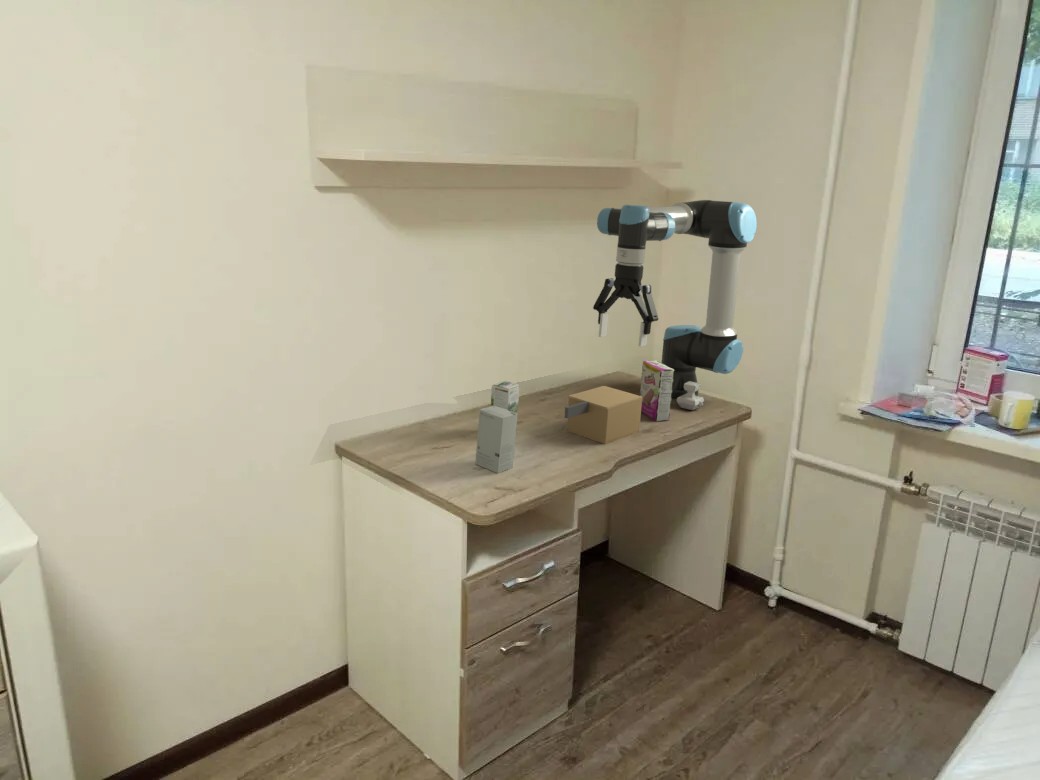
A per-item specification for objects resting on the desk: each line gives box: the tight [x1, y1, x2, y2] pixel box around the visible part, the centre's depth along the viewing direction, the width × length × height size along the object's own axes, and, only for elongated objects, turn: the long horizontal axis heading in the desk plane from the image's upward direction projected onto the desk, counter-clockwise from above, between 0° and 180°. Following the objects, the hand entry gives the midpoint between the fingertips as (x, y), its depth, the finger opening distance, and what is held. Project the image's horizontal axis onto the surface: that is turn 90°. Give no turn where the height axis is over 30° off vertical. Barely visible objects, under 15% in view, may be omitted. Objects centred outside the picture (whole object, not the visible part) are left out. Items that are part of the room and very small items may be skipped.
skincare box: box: [475, 405, 519, 474], centre depth 198 cm, size 8×6×15 cm
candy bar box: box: [639, 359, 674, 422], centre depth 243 cm, size 11×5×16 cm, turn 22°
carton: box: [566, 397, 642, 445], centre depth 228 cm, size 16×14×10 cm
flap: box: [564, 385, 642, 420], centre depth 223 cm, size 25×14×3 cm, turn 136°
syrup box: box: [490, 380, 520, 431], centre depth 221 cm, size 6×6×14 cm
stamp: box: [676, 381, 705, 411], centre depth 254 cm, size 9×7×8 cm
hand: (622, 341), depth 219 cm, fingers open, 13 cm apart
